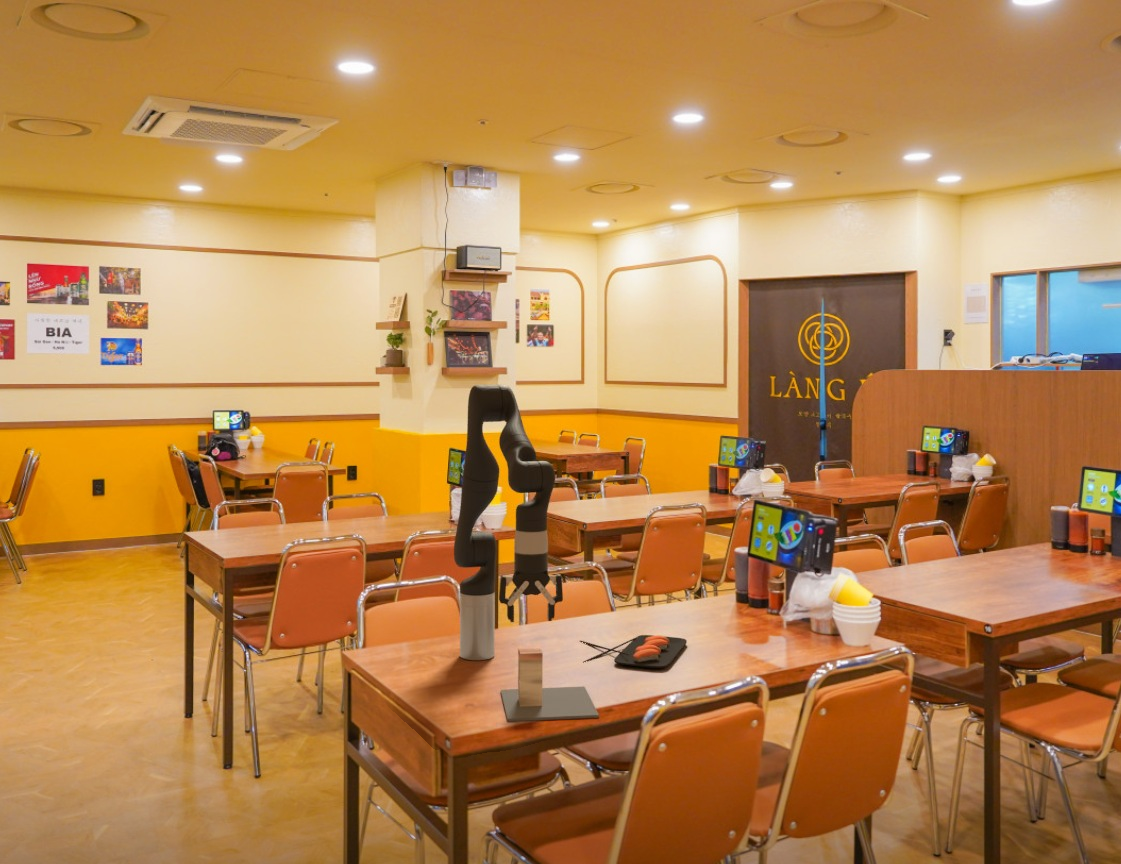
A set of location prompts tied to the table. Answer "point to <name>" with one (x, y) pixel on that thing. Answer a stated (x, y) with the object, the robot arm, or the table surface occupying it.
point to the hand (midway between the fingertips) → (530, 620)
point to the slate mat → (551, 705)
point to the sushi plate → (646, 651)
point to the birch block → (530, 676)
